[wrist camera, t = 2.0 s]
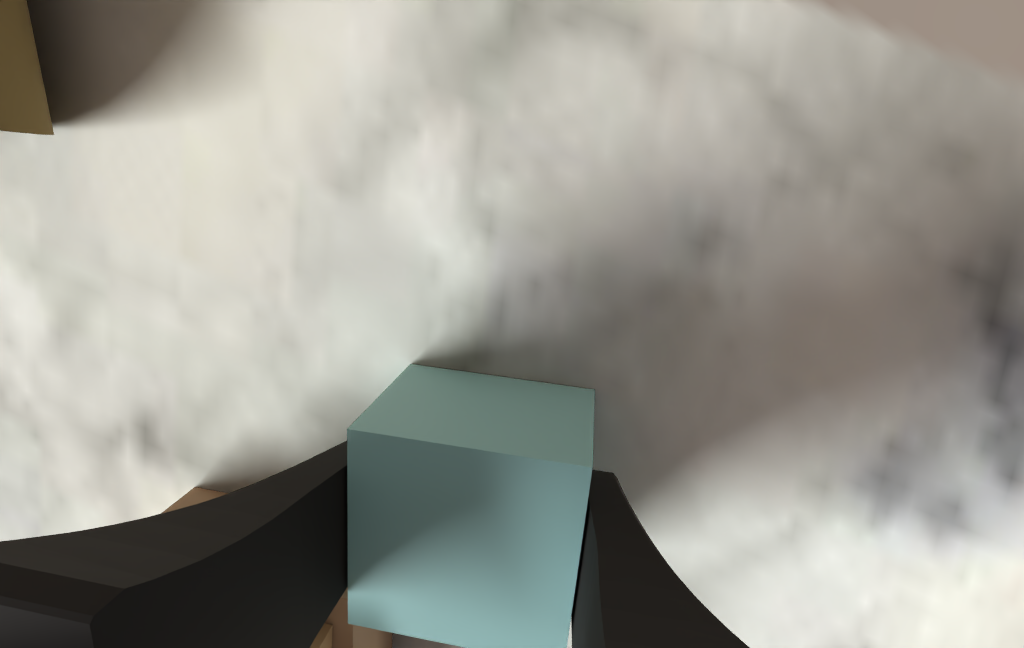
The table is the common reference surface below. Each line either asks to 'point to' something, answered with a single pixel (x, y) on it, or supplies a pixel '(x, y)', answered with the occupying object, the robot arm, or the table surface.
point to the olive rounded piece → (21, 74)
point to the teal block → (468, 508)
